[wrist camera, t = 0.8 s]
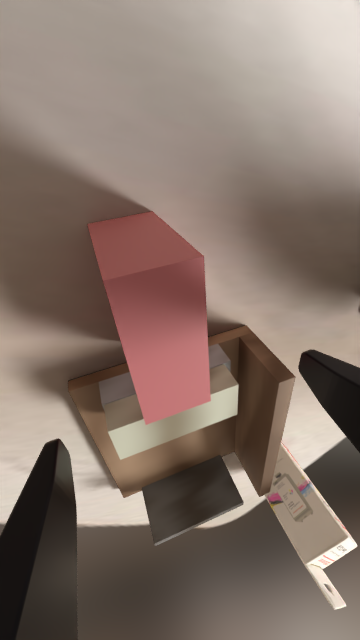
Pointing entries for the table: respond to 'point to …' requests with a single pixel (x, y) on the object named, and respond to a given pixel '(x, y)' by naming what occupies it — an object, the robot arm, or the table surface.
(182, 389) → the tall dusty pink block
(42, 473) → the robot arm
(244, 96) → the table surface
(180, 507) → the shelf
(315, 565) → the ink cartridge box
